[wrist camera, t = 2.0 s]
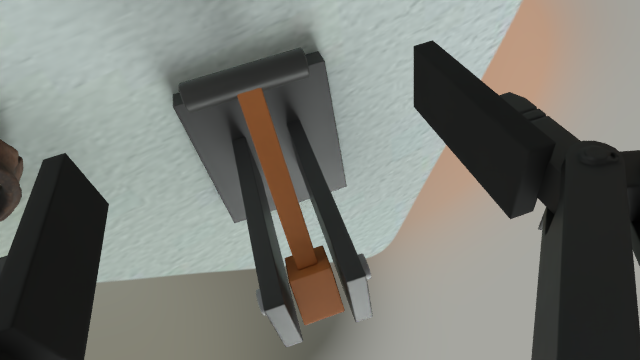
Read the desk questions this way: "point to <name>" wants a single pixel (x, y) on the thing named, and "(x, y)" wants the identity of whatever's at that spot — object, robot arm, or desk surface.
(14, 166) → the brown jagged hollow piece
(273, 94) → the switch base
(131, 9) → the desk surface
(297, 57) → the switch
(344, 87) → the desk surface
